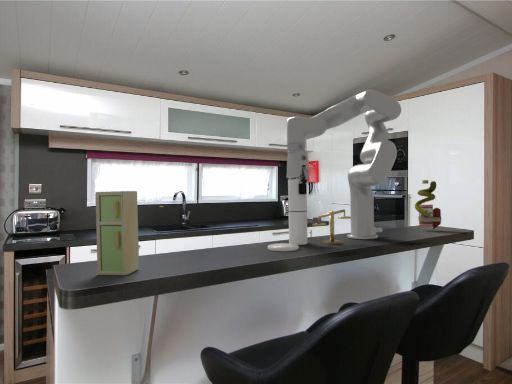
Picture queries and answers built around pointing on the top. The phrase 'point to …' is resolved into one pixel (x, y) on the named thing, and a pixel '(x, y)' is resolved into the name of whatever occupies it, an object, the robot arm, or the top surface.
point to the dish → (283, 247)
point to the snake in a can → (428, 207)
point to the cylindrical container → (297, 214)
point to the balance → (318, 223)
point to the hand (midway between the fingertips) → (297, 194)
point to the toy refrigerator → (117, 232)
